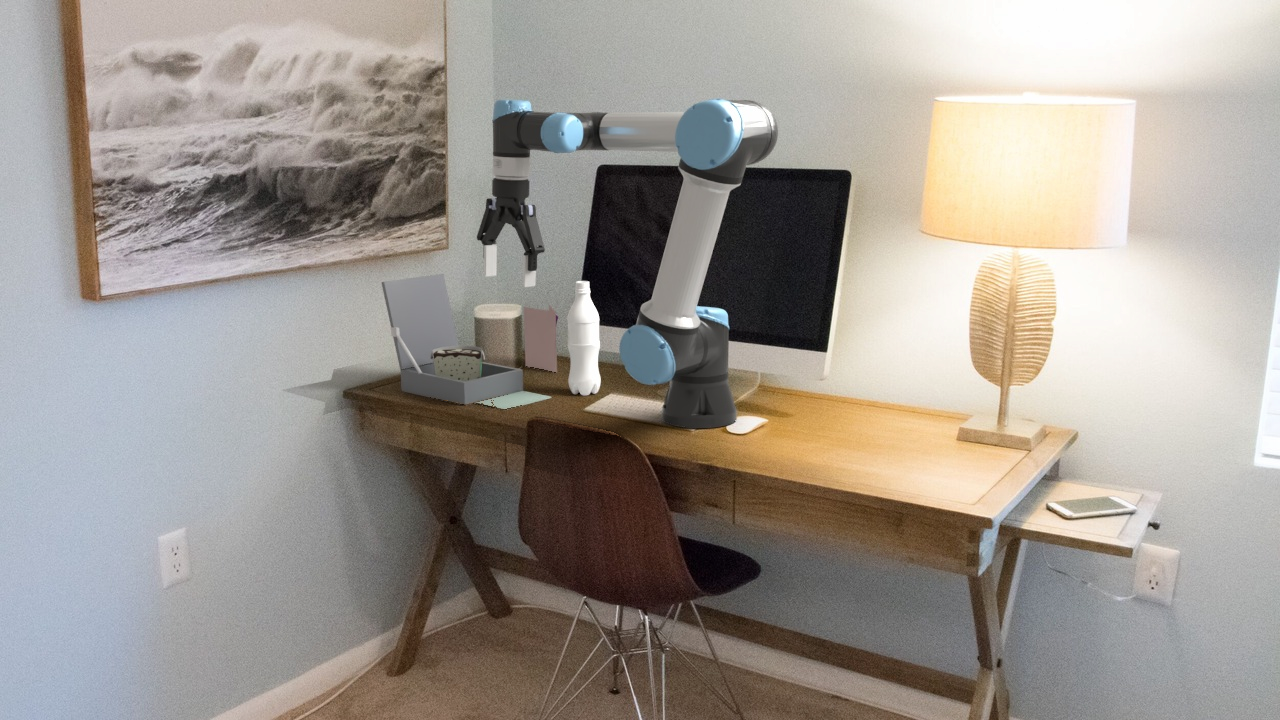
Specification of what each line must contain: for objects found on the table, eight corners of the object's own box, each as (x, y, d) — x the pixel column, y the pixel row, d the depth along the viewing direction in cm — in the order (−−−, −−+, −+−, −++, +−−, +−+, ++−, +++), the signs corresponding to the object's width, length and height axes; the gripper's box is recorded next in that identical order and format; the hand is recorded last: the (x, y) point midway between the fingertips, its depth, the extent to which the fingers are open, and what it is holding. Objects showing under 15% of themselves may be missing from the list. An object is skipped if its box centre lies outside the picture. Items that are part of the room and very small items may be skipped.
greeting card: (560, 372, 273) (559, 311, 270) (530, 374, 271) (528, 313, 268) (554, 363, 284) (552, 304, 281) (524, 364, 282) (522, 305, 279)
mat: (551, 398, 248) (551, 396, 248) (503, 410, 237) (503, 408, 237) (523, 392, 254) (523, 390, 254) (475, 403, 243) (475, 402, 243)
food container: (492, 388, 258) (490, 345, 255) (485, 394, 252) (484, 350, 249) (439, 387, 259) (437, 344, 257) (431, 394, 253) (429, 350, 251)
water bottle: (582, 398, 247) (579, 285, 242) (562, 392, 252) (559, 281, 247) (607, 393, 252) (605, 281, 247) (587, 387, 257) (585, 278, 252)
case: (523, 391, 254) (519, 282, 249) (464, 405, 242) (459, 291, 237) (445, 374, 272) (440, 273, 267) (386, 387, 259) (380, 281, 254)
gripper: (460, 172, 235) (460, 273, 240) (533, 184, 217) (531, 292, 223) (490, 171, 240) (489, 270, 245) (564, 183, 222) (560, 289, 228)
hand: (509, 281), depth 234 cm, fingers open, 13 cm apart
